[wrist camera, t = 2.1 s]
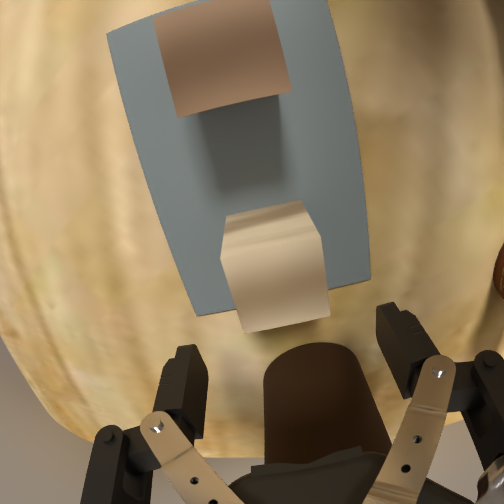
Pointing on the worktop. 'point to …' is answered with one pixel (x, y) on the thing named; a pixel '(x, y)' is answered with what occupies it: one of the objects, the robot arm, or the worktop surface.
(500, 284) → the food container
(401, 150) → the worktop surface
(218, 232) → the mat
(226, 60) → the walnut block
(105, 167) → the worktop surface
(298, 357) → the olive oil
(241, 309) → the maple block
